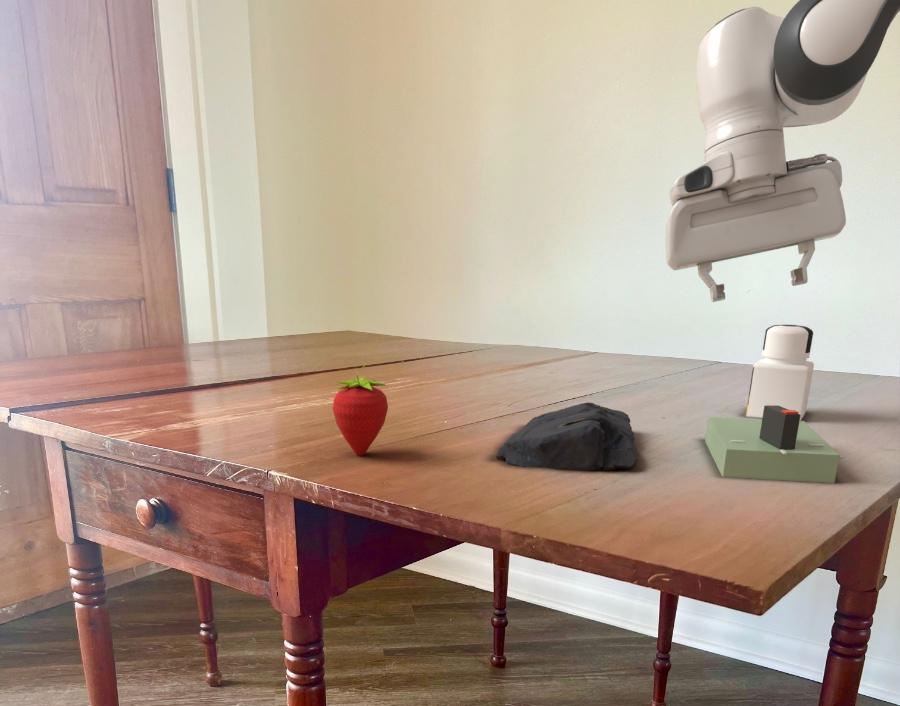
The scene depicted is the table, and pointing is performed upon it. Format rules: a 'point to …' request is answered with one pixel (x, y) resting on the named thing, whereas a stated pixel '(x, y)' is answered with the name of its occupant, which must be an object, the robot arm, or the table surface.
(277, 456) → the table surface
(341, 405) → the strawberry
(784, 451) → the console
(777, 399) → the medicine bottle
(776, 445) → the dark grey block
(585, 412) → the dark slate chunk
